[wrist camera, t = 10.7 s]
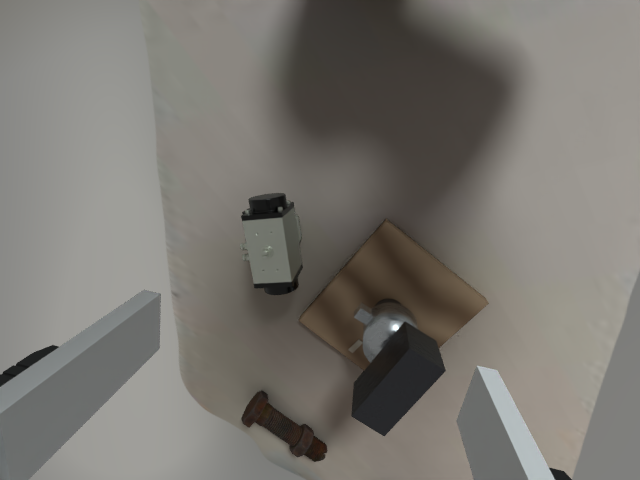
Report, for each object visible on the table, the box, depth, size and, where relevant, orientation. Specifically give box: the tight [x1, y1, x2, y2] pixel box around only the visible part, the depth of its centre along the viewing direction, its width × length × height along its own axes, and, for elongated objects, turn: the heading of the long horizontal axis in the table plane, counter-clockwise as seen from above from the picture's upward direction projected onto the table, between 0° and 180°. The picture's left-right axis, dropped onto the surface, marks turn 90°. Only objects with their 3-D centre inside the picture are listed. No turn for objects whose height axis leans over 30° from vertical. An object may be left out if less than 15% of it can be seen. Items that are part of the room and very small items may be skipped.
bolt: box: [242, 391, 327, 462], centre depth 58 cm, size 6×5×15 cm
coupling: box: [352, 303, 446, 436], centre depth 40 cm, size 10×10×13 cm
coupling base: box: [299, 219, 489, 370], centre depth 48 cm, size 20×18×5 cm
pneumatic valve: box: [240, 193, 303, 295], centre depth 44 cm, size 6×12×12 cm, turn 6°
